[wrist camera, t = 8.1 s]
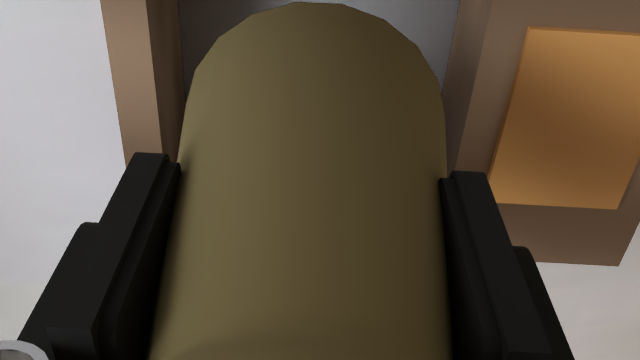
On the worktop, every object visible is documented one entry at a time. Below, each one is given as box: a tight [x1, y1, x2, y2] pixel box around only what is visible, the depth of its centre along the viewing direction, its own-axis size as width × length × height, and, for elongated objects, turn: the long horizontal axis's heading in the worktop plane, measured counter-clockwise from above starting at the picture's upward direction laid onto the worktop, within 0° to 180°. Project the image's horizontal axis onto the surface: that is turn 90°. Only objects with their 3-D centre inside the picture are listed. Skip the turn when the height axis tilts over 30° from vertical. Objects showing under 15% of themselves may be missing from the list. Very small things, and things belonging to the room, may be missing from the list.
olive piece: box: [146, 2, 454, 360], centre depth 10 cm, size 6×6×11 cm
